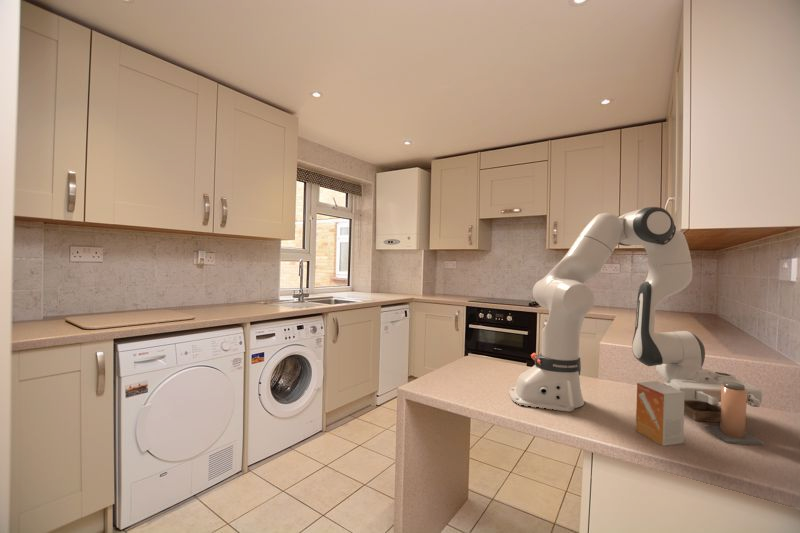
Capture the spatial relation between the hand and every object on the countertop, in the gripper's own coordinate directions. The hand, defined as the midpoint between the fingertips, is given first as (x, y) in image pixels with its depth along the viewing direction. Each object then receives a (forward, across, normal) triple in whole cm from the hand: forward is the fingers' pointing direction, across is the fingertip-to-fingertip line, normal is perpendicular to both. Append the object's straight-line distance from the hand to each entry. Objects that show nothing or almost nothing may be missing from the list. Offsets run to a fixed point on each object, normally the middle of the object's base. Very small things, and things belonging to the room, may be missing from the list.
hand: (736, 402), depth 93 cm
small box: (+2, -19, +9) cm, 21 cm away
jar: (-1, 0, +8) cm, 8 cm away
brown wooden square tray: (-14, +1, +9) cm, 17 cm away
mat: (-1, 0, +9) cm, 9 cm away
